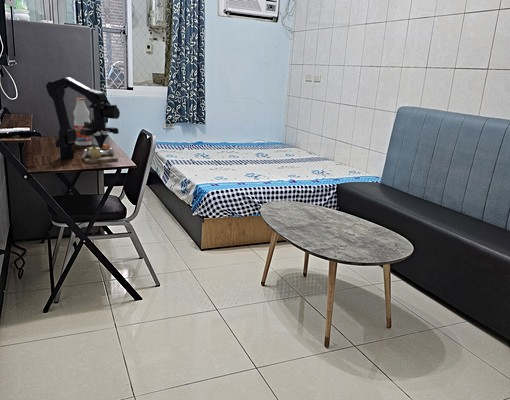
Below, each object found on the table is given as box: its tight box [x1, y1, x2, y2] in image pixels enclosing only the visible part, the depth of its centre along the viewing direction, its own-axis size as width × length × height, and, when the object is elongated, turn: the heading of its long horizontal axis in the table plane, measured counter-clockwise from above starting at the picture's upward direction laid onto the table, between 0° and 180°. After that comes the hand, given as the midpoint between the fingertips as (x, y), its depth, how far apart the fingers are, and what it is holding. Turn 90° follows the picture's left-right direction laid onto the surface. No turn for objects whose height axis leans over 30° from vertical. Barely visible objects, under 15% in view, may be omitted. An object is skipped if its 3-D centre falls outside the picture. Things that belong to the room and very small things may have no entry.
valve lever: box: [90, 142, 111, 150], centre depth 229 cm, size 11×3×2 cm, turn 62°
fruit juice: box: [72, 97, 93, 146], centre depth 268 cm, size 9×9×28 cm
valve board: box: [81, 146, 119, 164], centre depth 231 cm, size 16×13×7 cm
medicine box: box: [92, 133, 110, 150], centre depth 260 cm, size 8×4×9 cm, turn 141°
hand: (100, 148), depth 226 cm, fingers closed
